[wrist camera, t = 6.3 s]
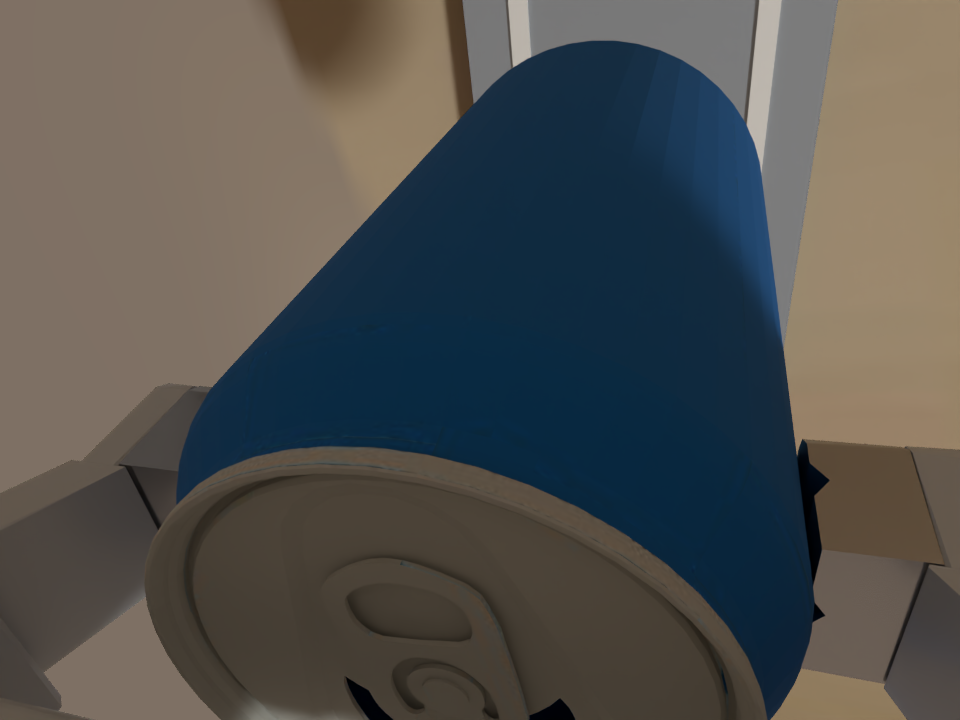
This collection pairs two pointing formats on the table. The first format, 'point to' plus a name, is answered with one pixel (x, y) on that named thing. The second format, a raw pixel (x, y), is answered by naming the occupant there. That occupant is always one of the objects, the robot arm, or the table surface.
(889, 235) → the table surface
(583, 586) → the beverage can
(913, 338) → the table surface
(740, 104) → the picture board
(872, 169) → the table surface
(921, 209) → the table surface
